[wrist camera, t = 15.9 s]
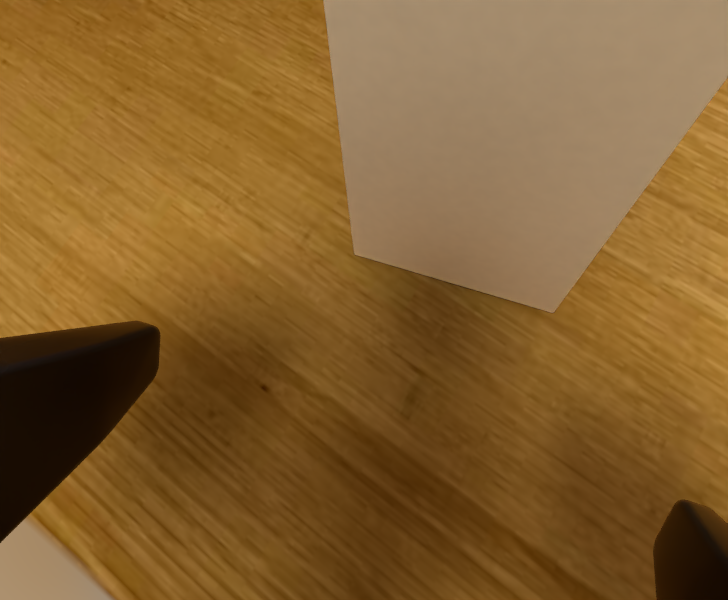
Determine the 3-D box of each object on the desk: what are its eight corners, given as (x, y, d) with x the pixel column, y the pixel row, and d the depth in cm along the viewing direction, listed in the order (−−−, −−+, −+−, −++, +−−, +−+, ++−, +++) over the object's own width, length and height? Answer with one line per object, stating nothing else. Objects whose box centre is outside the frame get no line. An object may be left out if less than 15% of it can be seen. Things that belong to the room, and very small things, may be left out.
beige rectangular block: (553, 314, 18) (881, -129, 6) (353, 255, 19) (295, -214, 7) (571, 238, 19) (879, -265, 7) (381, 187, 20) (370, -318, 8)
